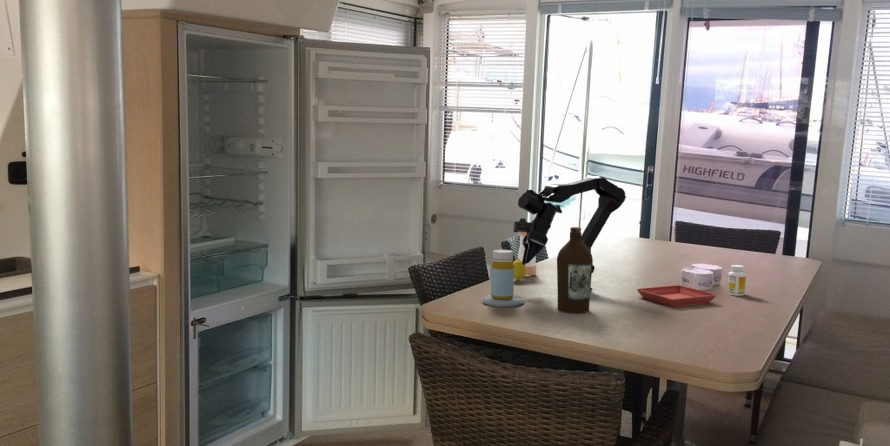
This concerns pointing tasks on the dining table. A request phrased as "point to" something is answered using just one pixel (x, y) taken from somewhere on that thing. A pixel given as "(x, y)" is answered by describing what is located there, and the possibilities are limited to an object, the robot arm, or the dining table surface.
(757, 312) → the dining table surface
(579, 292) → the olive oil
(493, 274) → the bottle
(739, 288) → the supplement bottle
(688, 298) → the plant saucer
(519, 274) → the lemon
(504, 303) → the stand
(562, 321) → the dining table surface
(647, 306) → the dining table surface
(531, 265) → the pepper shaker
